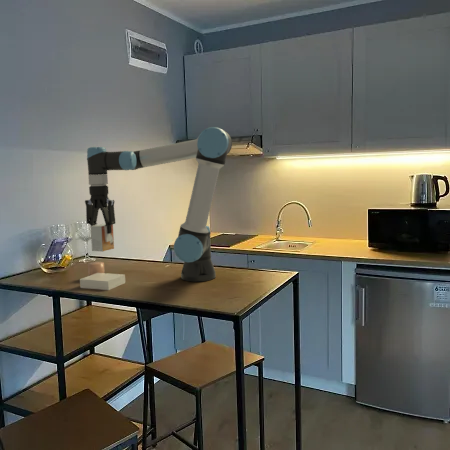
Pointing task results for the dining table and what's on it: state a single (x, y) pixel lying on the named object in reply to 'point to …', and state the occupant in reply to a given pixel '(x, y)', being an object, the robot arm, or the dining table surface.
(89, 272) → the brown rounded block
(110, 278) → the ceramic block
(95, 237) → the small box
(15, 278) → the dining table surface
